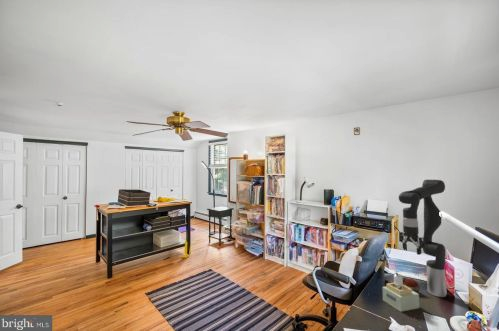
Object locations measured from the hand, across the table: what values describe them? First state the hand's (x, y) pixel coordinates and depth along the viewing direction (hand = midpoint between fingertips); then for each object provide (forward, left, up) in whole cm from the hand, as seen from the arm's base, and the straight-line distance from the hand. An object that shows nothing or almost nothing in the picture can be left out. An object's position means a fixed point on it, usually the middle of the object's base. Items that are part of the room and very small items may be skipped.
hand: (411, 251), depth 131 cm
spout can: (+8, -3, -23) cm, 25 cm away
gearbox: (+7, -4, -31) cm, 32 cm away
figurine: (-8, -15, -32) cm, 36 cm away
